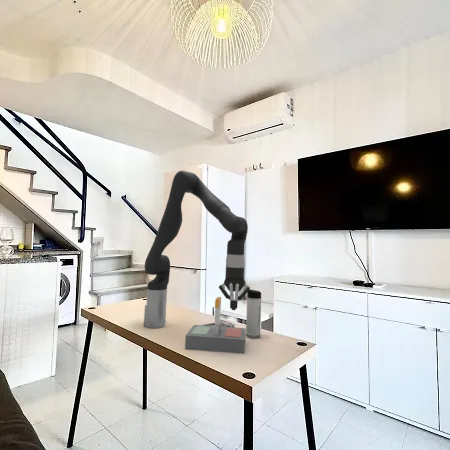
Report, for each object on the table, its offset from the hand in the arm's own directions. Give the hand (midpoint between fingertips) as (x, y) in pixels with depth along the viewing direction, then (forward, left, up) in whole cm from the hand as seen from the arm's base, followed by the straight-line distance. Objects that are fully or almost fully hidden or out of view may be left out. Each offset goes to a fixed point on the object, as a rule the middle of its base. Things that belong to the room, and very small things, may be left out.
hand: (233, 309), depth 112 cm
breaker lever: (-6, 0, -7) cm, 10 cm away
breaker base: (-6, 0, -14) cm, 15 cm away
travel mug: (+8, +13, -14) cm, 21 cm away
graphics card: (-11, +17, -15) cm, 25 cm away
